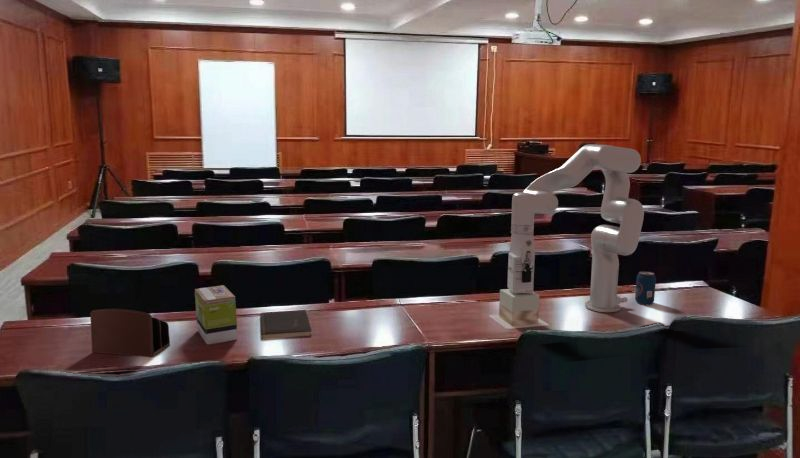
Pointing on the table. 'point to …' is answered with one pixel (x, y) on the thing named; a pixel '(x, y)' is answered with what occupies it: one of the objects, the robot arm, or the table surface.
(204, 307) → the tea box
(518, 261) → the supplement box
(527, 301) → the upper block
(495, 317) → the base board
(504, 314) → the lower block
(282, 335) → the hardcover book
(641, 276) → the soda can
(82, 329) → the table surface
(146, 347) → the letter holder
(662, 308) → the table surface
